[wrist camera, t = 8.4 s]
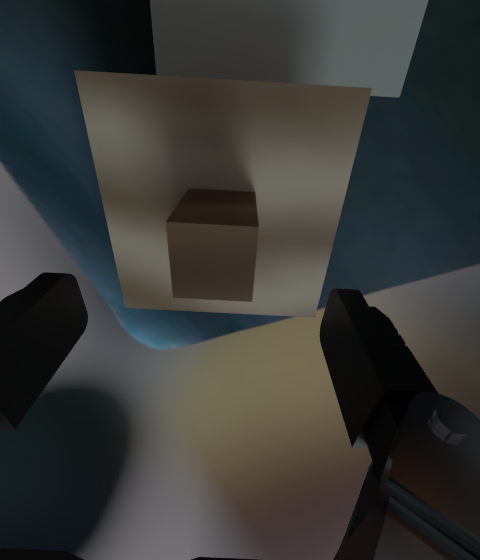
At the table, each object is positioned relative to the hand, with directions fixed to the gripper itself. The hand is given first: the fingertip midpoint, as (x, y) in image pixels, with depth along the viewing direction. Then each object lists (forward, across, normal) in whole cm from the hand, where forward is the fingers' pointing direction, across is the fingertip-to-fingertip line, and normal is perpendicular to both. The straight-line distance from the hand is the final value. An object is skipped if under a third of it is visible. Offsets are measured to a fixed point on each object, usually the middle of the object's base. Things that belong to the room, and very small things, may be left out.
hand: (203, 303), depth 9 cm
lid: (+8, 0, 0) cm, 9 cm away
